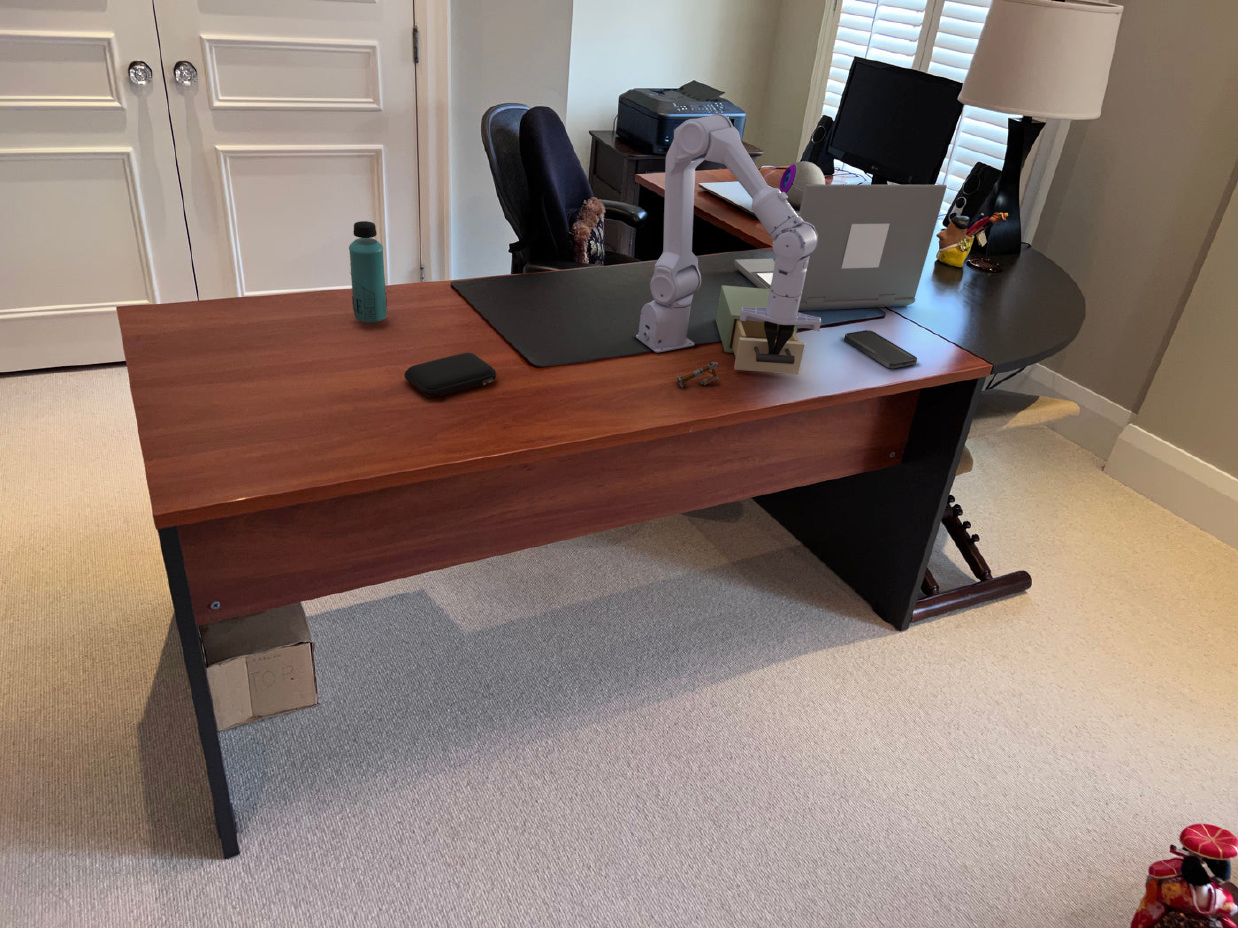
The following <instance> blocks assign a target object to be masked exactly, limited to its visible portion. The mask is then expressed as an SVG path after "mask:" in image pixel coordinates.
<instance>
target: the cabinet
mask: <svg viewBox="0 0 1238 928" xmlns="http://www.w3.org/2000/svg"><path fill="white" fill-rule="evenodd" d="M719 292H720V293H719V297H718V298H719V299H718V304H717V310H716V316H715V322H716V323H715V324H716V326H717V330H718V333H719V337H720V340H721V344H722V347H723V351H724V353H731V354H734V351H733V348H732V345H731V336H732V331H733V325H734V319H740V314H741V308H742V307H747V308H766V307H767V302H768V297H769V292H770V289H761V288H758V287H746V286H735V285H724V284H723V285H721V287H720V291H719ZM798 328H799V327H795V326H794V331H795V334H796V335H797V333H798Z"/></svg>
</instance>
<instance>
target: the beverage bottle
mask: <svg viewBox="0 0 1238 928" xmlns="http://www.w3.org/2000/svg"><path fill="white" fill-rule="evenodd" d="M352 232H353V236H354V237H356V238H355V240H353V241H352V242H351V243H350V244H349V245H348V250H349V259H350V260H349V261H350V272H349V274H350V277H351V278H350V279H351V294H352V295H351V300H352V303H351V304H352V311H353V315H354V318H355V320H358V321H359V322H364V323H378V322H382V321H383V320H385V319H386V318H387V315H388V301H387V300H388V298H387V290H386V285H387V283H386V277H385V264H384V263H385V262H384V245H383V244H382V243H381V242H380V241H379V240H377V239H375V238H374V237H376V236H377V226H376V224H375V222H372V221H368V220H362V221H356V222H354V223H353V231H352Z"/></svg>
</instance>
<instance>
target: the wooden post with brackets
mask: <svg viewBox="0 0 1238 928" xmlns="http://www.w3.org/2000/svg"><path fill="white" fill-rule="evenodd" d="M717 366H719V363H718V361H709V362H708V363H707V365H705V366H703V367H699V368H697V369H695V370H693V371H692V372H691V373H688V374H684V375H682V376H679V375H675V377H676V379H677V383H678V385H679V386H680V387H681V388H684V385H685V384H686V383H688V382H689V381H691V380H692V379H696V378H698V377H701V376H702V375H704V374H705V373H708V374H711V375H712V376H709V377H708V376H706V377H705V378H702V379H701V381H700V382H699V384H700V385H704V386H706V385H707V384H711V381H713V379H714V380H715V383H719V382H720V380H719V376H718V374H717V371H716V369H717Z"/></svg>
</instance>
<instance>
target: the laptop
mask: <svg viewBox="0 0 1238 928" xmlns="http://www.w3.org/2000/svg"><path fill="white" fill-rule="evenodd" d="M947 188H948V185H947V184H856V183H855V184H851V183H849V184H845V183H844V184H839V183H837V184H829V183H827V184H826V183H825V184H805V188H804V193H803V198H802V203H801V208H800V213H799V216H800V217H801V218H802V219H803V221H804V222H808V223H810V224H812V225H813V226H814V228H815V230H816V232H817V235H818V244H817V247H816V248H815V250H814V251H813V252H812V253H810V254H809V255H807V256H810V257H809V261H808V266H807V271H806V276H805V281H804V285H803V290H802V295H801V299H800V304H799V309H798V312H801V311H802V312H804V311H826V310H845V309H846V310H847V309H866V308H867V309H869V308H889V307H890V308H891V307H892V308H893V307H908V306H910V305H912V304H914V303H915V302H916V295H917V291H918V288H919V285H920V281H921V278H922V274H923V270H924V267H925V264H926V260H927V256H928V253H929V250H930V247H931V243H932V240H933V236H934V232H935V230H936V225H937V222H938V218H939V215H940V212H941V208H942V205H943V201H944V198H945V194H946V191H947ZM775 262H776V257H775V258H746V259H745V258H744V259H742V258H741V259H734V261H733V265H734V268H735V269H737V271H739V272H740V274H742V275H743V276H744V277H745V278H746V279H747V280H749V282H751V283H752V284H753V285H754V286H755V287H756V288H761V289H770V287H771V282H772V277H773V271H774V266H775Z"/></svg>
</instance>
